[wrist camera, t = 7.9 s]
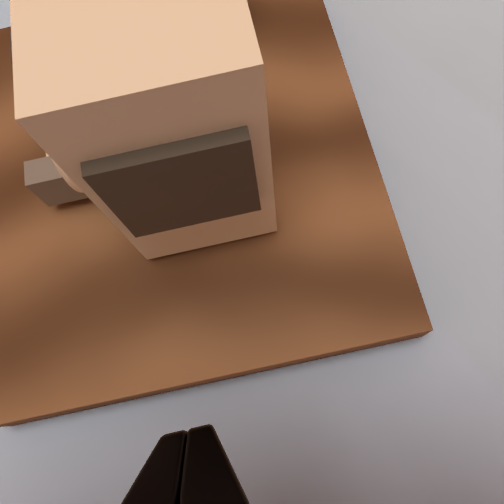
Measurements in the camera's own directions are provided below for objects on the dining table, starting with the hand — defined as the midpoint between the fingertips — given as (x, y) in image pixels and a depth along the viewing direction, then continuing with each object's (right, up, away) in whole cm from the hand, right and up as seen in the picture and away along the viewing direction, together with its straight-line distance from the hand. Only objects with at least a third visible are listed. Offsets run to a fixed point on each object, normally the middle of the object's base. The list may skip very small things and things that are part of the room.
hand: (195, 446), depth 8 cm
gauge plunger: (-3, +5, +11) cm, 12 cm away
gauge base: (-1, +7, +13) cm, 15 cm away
